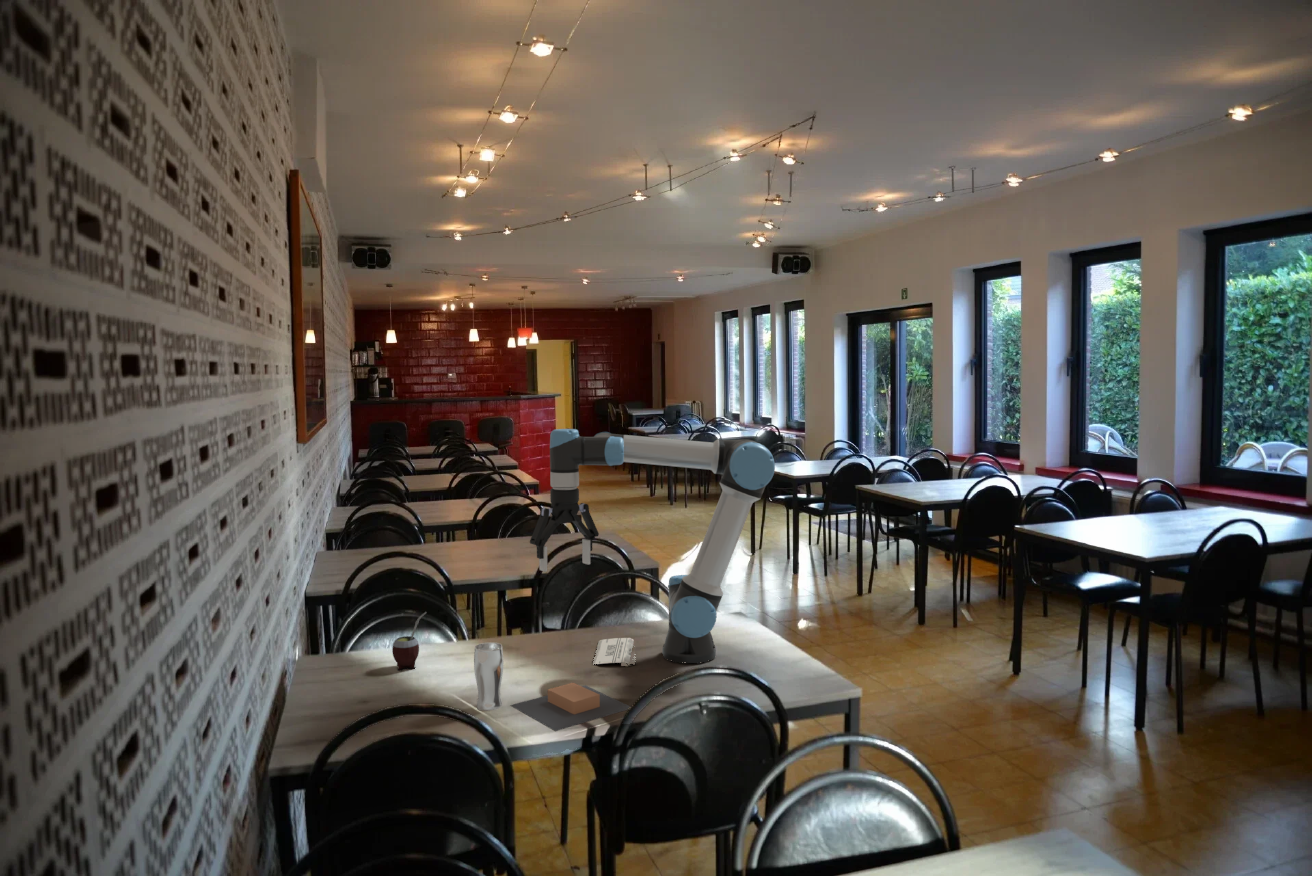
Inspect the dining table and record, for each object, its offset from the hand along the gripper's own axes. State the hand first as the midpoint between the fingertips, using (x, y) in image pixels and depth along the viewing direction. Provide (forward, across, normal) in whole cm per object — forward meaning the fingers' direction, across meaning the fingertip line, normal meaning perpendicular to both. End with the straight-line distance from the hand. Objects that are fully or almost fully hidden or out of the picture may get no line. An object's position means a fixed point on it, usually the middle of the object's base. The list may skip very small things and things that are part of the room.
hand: (565, 567), depth 241 cm
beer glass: (+29, +28, +9) cm, 41 cm away
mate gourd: (+29, +31, -31) cm, 53 cm away
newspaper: (+30, -20, -5) cm, 36 cm away
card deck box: (+27, +12, +16) cm, 33 cm away
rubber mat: (+29, +13, +22) cm, 38 cm away
